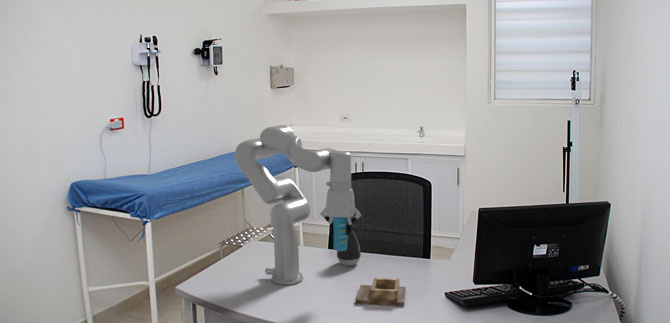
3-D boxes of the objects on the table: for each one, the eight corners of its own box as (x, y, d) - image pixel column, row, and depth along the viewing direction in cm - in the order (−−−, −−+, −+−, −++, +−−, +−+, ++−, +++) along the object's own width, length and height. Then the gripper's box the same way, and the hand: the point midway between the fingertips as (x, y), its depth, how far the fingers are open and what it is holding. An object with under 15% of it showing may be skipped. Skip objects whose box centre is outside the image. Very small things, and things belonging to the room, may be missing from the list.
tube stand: (356, 303, 198) (356, 290, 197) (360, 288, 211) (360, 276, 210) (404, 306, 195) (404, 292, 194) (405, 290, 208) (405, 277, 208)
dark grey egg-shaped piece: (345, 258, 245) (344, 225, 242) (365, 262, 239) (364, 228, 236) (331, 265, 237) (331, 230, 234) (352, 270, 231) (351, 234, 228)
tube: (335, 252, 200) (335, 201, 196) (328, 249, 204) (328, 198, 200) (352, 249, 204) (353, 198, 200) (345, 245, 208) (345, 195, 204)
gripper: (315, 187, 197) (315, 236, 200) (363, 188, 194) (362, 238, 198) (319, 182, 204) (319, 230, 208) (365, 184, 202) (365, 232, 205)
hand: (340, 233), depth 203 cm, fingers closed on tube, 5 cm apart
